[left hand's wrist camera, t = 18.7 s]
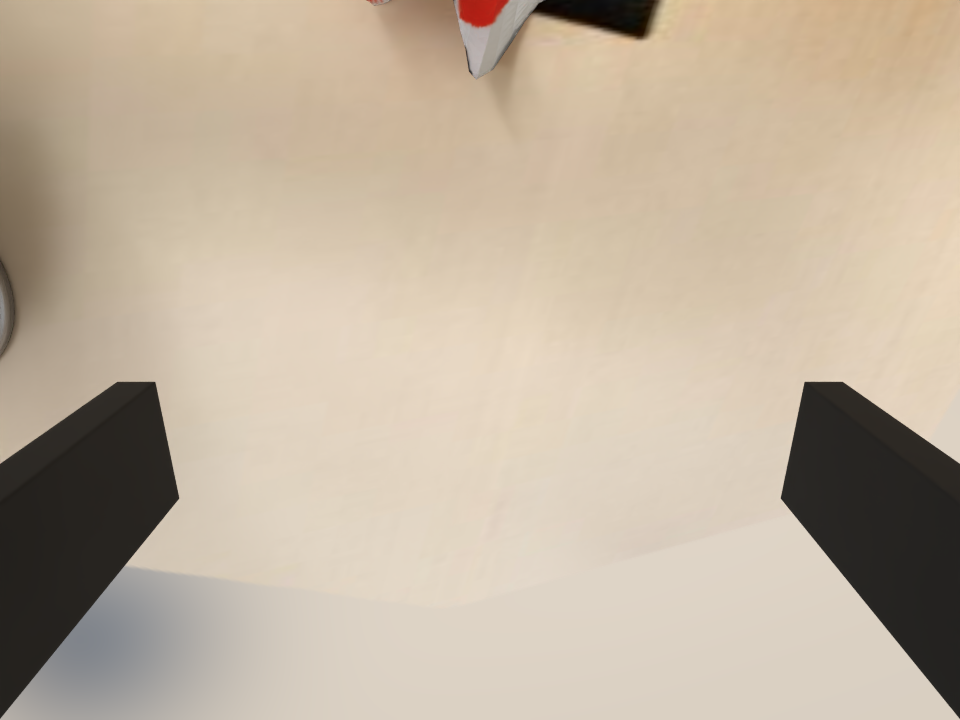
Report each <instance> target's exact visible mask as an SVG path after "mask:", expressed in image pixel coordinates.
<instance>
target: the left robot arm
mask: <svg viewBox="0 0 960 720" xmlns="http://www.w3.org/2000/svg"><path fill="white" fill-rule="evenodd" d="M13 323H14V301H13V295H12V291H11V287H10V283H9V280H8V277H7V275H6V272H5V270H4V268H3V266H2V263H1V262H0V355H1V354H2V352H3V351H4V349H5V348H6V346H7V344H8V341H9V339H10V336H11V333H12V329H13ZM178 499H179V495H178V490H177V485H176V480H175V475H174V471H173V466H172V461H171V456H170V451H169V446H168V441H167V437H166V432H165V427H164V422H163V417H162V412H161V407H160V402H159V398H158V393H157V388H156V383H155V382H117V383H115V384H114V385H112V386H111V387H109V388H108V389H107V390H105V391H104V392H102V393H101V394H99V395H98V396H97V397H95V398H94V399H92V400H91V401H89V402H88V403H87V404H85V405H84V406H82V407H81V408H79V409H78V410H77V411H75V412H74V413H72V414H71V415H69V416H68V417H67V418H65V419H64V420H62V421H61V422H59V423H58V424H57V425H55V426H54V427H52V428H51V429H49V430H48V431H47V432H45V433H44V434H42V435H41V436H39V437H38V438H36V439H35V440H34V441H32V442H31V443H29V444H28V445H26V446H25V447H24V448H22V449H21V450H19V451H18V452H16V453H15V454H14V455H12V456H11V457H9V458H8V459H6V460H5V461H4V462H2V463H1V464H0V718H1V717H2V716H3V715H4V713H5V712H6V711H7V710H8V708H9V707H10V706H11V705H12V704H13V702H14V701H15V700H16V699H17V697H18V696H19V695H20V694H21V692H22V691H23V690H24V689H25V688H26V686H27V685H28V684H29V683H30V681H31V680H32V679H33V678H34V676H35V675H36V674H37V673H38V671H39V670H40V669H41V668H42V667H43V665H44V664H45V663H46V662H47V660H48V659H49V658H50V657H51V656H52V654H53V653H54V652H55V651H56V649H57V648H58V647H59V646H60V644H61V643H62V642H63V641H64V639H65V638H66V637H67V636H68V635H69V633H70V632H71V631H72V630H73V628H74V627H75V626H76V625H77V624H78V622H79V621H80V620H81V619H82V617H83V616H84V615H85V614H86V612H87V611H88V610H89V609H90V608H91V606H92V605H93V604H94V603H95V601H96V600H97V599H98V598H99V596H100V595H101V594H102V593H103V592H104V590H105V589H106V588H107V587H108V585H109V584H110V583H111V582H112V581H113V579H114V578H115V577H116V576H117V574H118V573H119V572H120V571H121V569H122V568H123V567H124V566H125V565H126V563H127V562H128V561H129V560H130V558H131V557H132V556H133V555H134V553H135V552H136V551H137V550H138V549H139V547H140V546H141V545H142V544H143V542H144V541H145V540H146V539H147V537H148V536H149V535H150V534H151V533H152V531H153V530H154V529H155V528H156V526H157V525H158V524H159V523H160V521H161V520H162V519H163V518H164V517H165V515H166V514H167V513H168V512H169V510H170V509H171V508H172V507H173V505H174V504H175V503H176V502H177V501H178ZM781 499H782V501H783V502H784V503H785V504H786V505H787V507H788V508H789V509H790V510H791V512H792V513H793V514H794V515H795V517H796V518H797V519H798V520H799V521H800V523H801V524H802V525H803V526H804V528H805V529H806V530H807V531H808V533H809V534H810V535H811V536H812V537H813V539H814V540H815V541H816V542H817V544H818V545H819V546H820V547H821V549H822V550H823V551H824V552H825V553H826V555H827V556H828V557H829V558H830V560H831V561H832V562H833V563H834V564H835V566H836V567H837V568H838V569H839V571H840V572H841V573H842V574H843V576H844V577H845V578H846V579H847V581H848V582H849V583H850V584H851V585H852V587H853V588H854V589H855V590H856V592H857V593H858V594H859V595H860V596H861V598H862V599H863V600H864V601H865V603H866V604H867V605H868V606H869V608H870V609H871V610H872V611H873V612H874V614H875V615H876V616H877V617H878V619H879V620H880V621H881V622H882V623H883V625H884V626H885V627H886V628H887V630H888V631H889V632H890V633H891V635H892V636H893V637H894V638H895V640H896V641H897V642H898V643H899V644H900V646H901V647H902V648H903V649H904V651H905V652H906V653H907V654H908V656H909V657H910V658H911V659H912V660H913V662H914V663H915V664H916V665H917V667H918V668H919V669H920V670H921V672H922V673H923V674H924V675H925V676H926V678H927V679H928V680H929V681H930V683H931V684H932V685H933V686H934V688H935V689H936V690H937V691H938V692H939V694H940V695H941V696H942V697H943V699H944V700H945V701H946V702H947V704H948V705H949V706H950V707H951V708H952V710H953V711H954V712H955V713H956V715H957V716H958V717H959V718H960V464H959V463H958V462H956V461H955V460H954V459H952V458H951V457H949V456H948V455H946V454H945V453H944V452H942V451H941V450H939V449H938V448H936V447H935V446H934V445H932V444H931V443H929V442H928V441H926V440H925V439H924V438H922V437H921V436H919V435H918V434H916V433H915V432H913V431H912V430H911V429H909V428H908V427H906V426H905V425H903V424H902V423H901V422H899V421H898V420H896V419H895V418H893V417H892V416H891V415H889V414H888V413H886V412H885V411H883V410H882V409H881V408H879V407H878V406H876V405H875V404H873V403H872V402H871V401H869V400H868V399H866V398H865V397H863V396H862V395H861V394H859V393H858V392H856V391H855V390H853V389H852V388H851V387H849V386H848V385H846V384H845V383H843V382H805V383H804V388H803V393H802V398H801V402H800V407H799V412H798V417H797V422H796V427H795V432H794V437H793V441H792V446H791V451H790V456H789V461H788V466H787V471H786V475H785V480H784V485H783V490H782V495H781Z"/></svg>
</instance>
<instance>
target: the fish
mask: <svg viewBox="0 0 960 720" xmlns="http://www.w3.org/2000/svg"><path fill="white" fill-rule="evenodd" d="M367 1H369V2H370V3H372V4H373V5H381V4H385V3H386V2H388V1H390V0H367ZM453 1H454V5H455V9H456V13H457V17H458V22H459V26H460V31H461V35H462V38H463V42H464V45H465V48H466V54H467V61H468V68H469V72H470V73H471V74H472V75H473V76H474V78H475V79H478V78H479V77H481V76H483V75H484V74H486V73H488V72H490V71H491V70H493V69H494V67H495V66H496V64H497V63H498V61H499V60H500V58H501V57H502V56H503V54H504V53H505V51H506V50H507V48H508V47H509V45H510V44H511V42H512V41H513V39H514V38H515V36H516V34H517V33H518V31H519V30H520V28H521V27H522V25H523V23H524V22H525V21H526V19H527V18H528V17H529V15H530V14H531V13H532V11H533V10H534V9H535V8H536V6H537V5H538V4H539V3H540V2H542V1H544V0H453Z"/></svg>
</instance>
